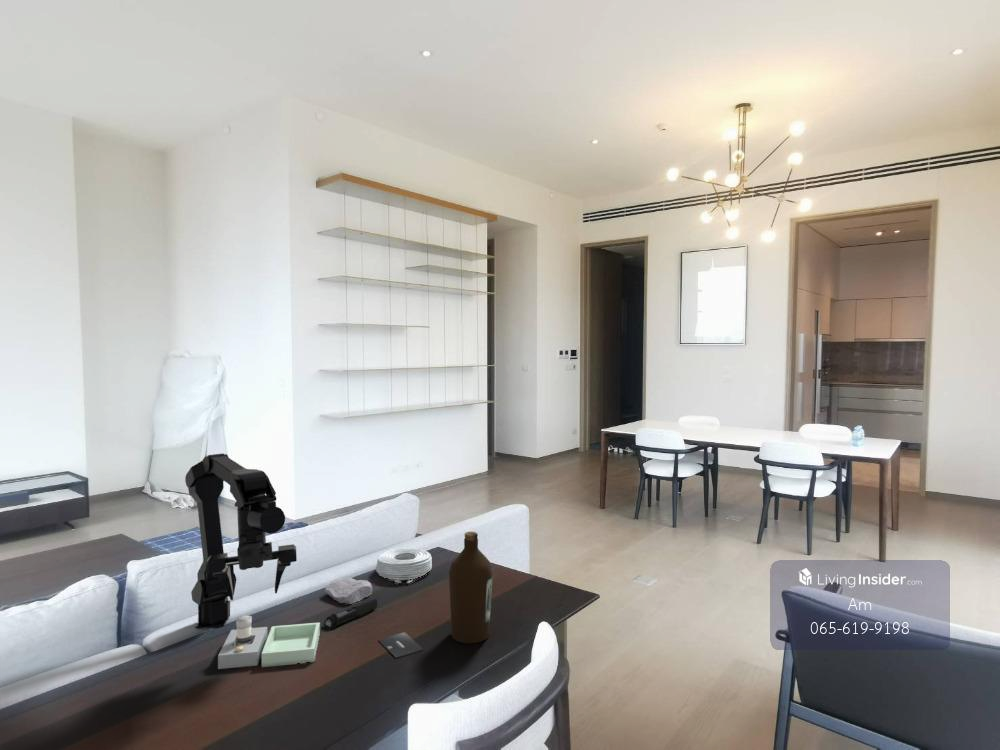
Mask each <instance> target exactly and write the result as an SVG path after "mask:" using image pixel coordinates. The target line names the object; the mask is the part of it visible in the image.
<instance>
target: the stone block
mask: <svg viewBox="0 0 1000 750" xmlns="http://www.w3.org/2000/svg"><path fill="white" fill-rule="evenodd" d="M324 589H325V590H324V593H325V594H326V595H327V596H328V595H329V597H330V598H331V597H332V598H331V599H333V600H334V601H335V600H336V602H337V601H338V603H339V602H340V603H348V604H352V603H355V602H357V601H360V600H362V599H363V598H365V597H368V596H369V597H371V596H372V595H373V585H372V584H371V582H370V581H368V580H365V579H364V580H363V579H359V580H357V579H355V578H352V577H351V576H345V577H343V578H339V579H335V580H334V581H331V582H330V583H329V584H327V585H326V587H325V588H324ZM371 594H372V595H371ZM370 595H371V596H370ZM369 597H368V598H369ZM363 600H364V599H363ZM363 600H362V601H363ZM360 602H361V601H360ZM340 603H339V604H340ZM355 604H356V603H355ZM352 605H353V604H352Z"/></svg>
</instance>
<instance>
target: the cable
mask: <svg viewBox="0 0 1000 750" xmlns="http://www.w3.org/2000/svg"><path fill="white" fill-rule="evenodd" d="M432 559H433V558H432V554H431V553H430V552H428V551H427V550H426V549H425V550H424V549H423V548H422V549H421V548H417V547H398V548H392V549H390V550H387V551H385V552H382V553H381V554H380V555H379V556H378V559H377V562H376V566H375V571H376V573H377V574H378V575H379V576H380V577H381V576H382V577H381V578H383V577H384V578H383V579H385V578H388V579H394V580H395V582H397V583H400V584H401V583H403V582H402V581H406V583H410V582H412V581H413V579H415V578H418V577H420V578H422V577H421V576H423V575H425V574H426V573H427V572H429V571H430V572H431V571H432V567H433V563H432V562H433V560H432ZM430 572H429V573H430ZM426 575H427V574H426ZM426 575H425V576H426ZM423 577H424V576H423ZM388 579H387V580H388ZM410 579H411V580H410ZM412 583H413V582H412ZM410 584H411V583H410Z"/></svg>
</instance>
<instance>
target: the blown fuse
mask: <svg viewBox="0 0 1000 750" xmlns="http://www.w3.org/2000/svg"><path fill="white" fill-rule="evenodd" d="M235 620H236V621H235V622H236V623H235V626H236V629H237V645H246V644H251V627H252V625H253V624H252V622H253V618H252V616H251V615H242V616H238V617H237V618H236V619H235Z"/></svg>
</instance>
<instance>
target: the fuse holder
mask: <svg viewBox="0 0 1000 750" xmlns="http://www.w3.org/2000/svg"><path fill="white" fill-rule="evenodd" d="M268 635H269V634H268V626H262V627H260V626H259V627H252V626H251V644H246V645H237V628H236V629H231V630H230V632H229V634H228V636H227V637H226V639H225V642H224V644H223V645H222V647H221V649H220V651H219V653H218V655H217V669H218V670H222V669H224V670H225V669H230V668H231V669H232V668H234V669H235V668H245V667H253V666H254V667H256V666H258V665H259V662H260V660H261V659H262V651H263V649H264V646H265V643H266V641H267V638H268Z"/></svg>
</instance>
